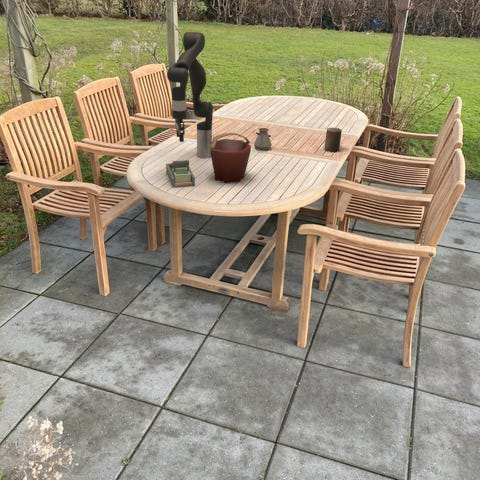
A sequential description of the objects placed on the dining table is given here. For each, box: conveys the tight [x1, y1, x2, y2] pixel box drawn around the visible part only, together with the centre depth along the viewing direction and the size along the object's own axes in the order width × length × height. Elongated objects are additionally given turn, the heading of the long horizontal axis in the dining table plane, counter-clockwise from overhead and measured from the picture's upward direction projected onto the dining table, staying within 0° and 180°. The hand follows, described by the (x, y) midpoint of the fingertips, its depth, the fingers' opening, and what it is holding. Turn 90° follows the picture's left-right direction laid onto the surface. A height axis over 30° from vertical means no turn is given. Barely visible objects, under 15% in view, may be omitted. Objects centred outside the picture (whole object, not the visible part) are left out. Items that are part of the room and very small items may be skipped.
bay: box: [165, 162, 196, 189], centre depth 277 cm, size 12×23×5 cm, turn 16°
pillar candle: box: [324, 127, 342, 153], centre depth 325 cm, size 10×10×15 cm
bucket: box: [209, 132, 252, 184], centre depth 277 cm, size 24×22×25 cm
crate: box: [172, 159, 191, 183], centre depth 271 cm, size 8×10×11 cm
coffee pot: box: [253, 127, 273, 151], centre depth 319 cm, size 21×12×15 cm, turn 159°
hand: (180, 139), depth 264 cm, fingers open, 8 cm apart
